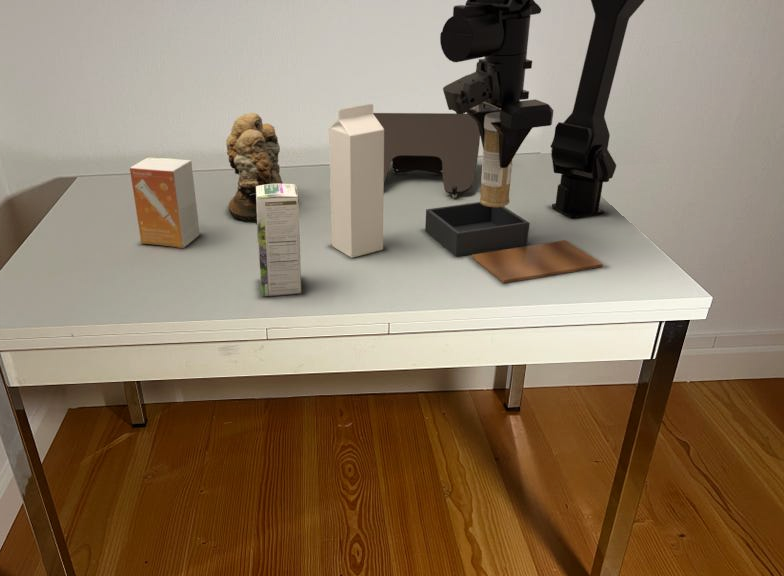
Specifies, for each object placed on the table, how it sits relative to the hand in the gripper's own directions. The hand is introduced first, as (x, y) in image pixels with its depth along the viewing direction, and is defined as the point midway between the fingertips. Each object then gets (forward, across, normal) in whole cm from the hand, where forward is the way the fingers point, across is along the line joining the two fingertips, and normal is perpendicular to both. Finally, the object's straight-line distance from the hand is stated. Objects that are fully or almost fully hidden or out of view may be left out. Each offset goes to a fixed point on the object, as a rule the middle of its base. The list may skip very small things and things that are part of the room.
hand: (496, 163), depth 113 cm
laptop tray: (+13, -34, +2) cm, 36 cm away
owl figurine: (+13, -31, -30) cm, 45 cm away
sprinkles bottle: (+6, 0, 0) cm, 7 cm away
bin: (+13, -3, -1) cm, 13 cm away
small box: (+13, -21, -48) cm, 54 cm away
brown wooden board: (+13, +9, +3) cm, 16 cm away
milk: (+13, -6, -20) cm, 25 cm away
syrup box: (+13, +4, -35) cm, 38 cm away
